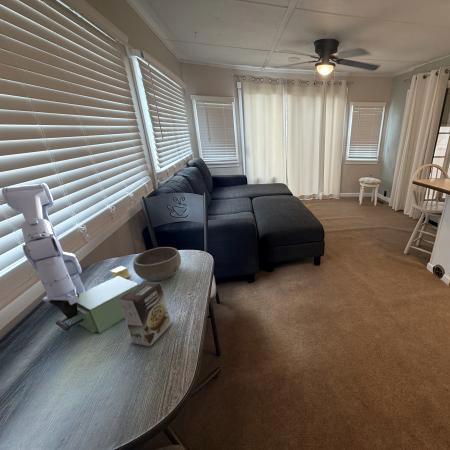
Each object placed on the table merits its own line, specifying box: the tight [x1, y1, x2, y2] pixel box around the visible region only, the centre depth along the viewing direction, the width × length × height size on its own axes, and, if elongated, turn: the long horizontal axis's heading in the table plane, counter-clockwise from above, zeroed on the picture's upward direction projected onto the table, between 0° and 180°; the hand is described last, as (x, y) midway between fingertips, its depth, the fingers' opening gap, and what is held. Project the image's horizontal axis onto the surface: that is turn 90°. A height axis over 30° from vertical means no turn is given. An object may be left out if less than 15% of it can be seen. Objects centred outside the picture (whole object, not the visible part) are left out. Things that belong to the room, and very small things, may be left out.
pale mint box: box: [77, 276, 140, 333], centre depth 82 cm, size 15×13×9 cm
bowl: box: [132, 246, 182, 282], centre depth 104 cm, size 17×18×10 cm
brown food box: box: [119, 280, 172, 347], centre depth 72 cm, size 9×6×16 cm
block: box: [110, 265, 131, 279], centre depth 103 cm, size 4×4×4 cm
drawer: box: [55, 305, 97, 333], centre depth 79 cm, size 18×11×7 cm, turn 154°
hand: (72, 316), depth 73 cm, fingers closed, pressing on drawer
